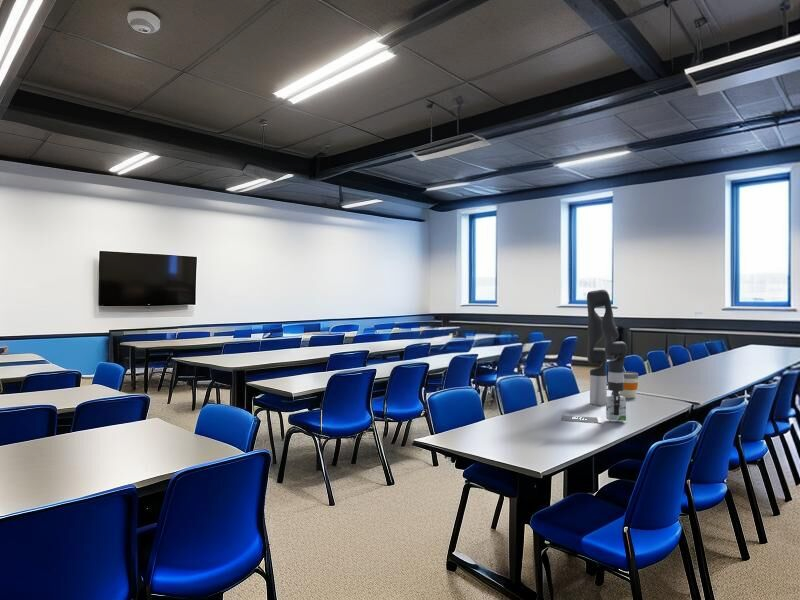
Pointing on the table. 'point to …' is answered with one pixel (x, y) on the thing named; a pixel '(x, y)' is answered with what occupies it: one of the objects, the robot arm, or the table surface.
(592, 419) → the mat
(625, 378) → the reusable coffee cup
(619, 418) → the ink box
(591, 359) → the robot arm
